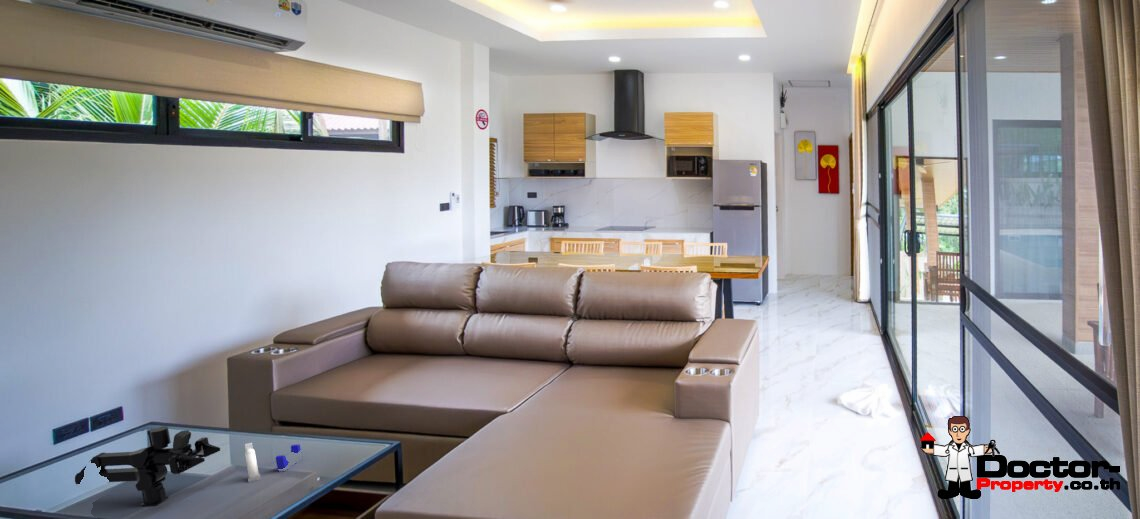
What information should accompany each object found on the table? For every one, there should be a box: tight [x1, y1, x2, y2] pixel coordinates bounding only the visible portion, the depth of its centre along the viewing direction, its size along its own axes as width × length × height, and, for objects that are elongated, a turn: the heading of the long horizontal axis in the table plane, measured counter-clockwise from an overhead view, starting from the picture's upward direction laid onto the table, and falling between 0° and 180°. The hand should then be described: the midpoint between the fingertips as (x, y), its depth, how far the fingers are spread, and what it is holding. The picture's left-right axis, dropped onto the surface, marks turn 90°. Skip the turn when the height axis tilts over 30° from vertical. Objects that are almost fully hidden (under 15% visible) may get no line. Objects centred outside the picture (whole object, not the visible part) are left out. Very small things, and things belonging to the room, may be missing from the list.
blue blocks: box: [275, 444, 302, 470], centre depth 297 cm, size 12×4×6 cm, turn 168°
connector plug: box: [244, 442, 261, 483], centre depth 286 cm, size 4×4×14 cm
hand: (212, 454), depth 270 cm, fingers open, 9 cm apart
